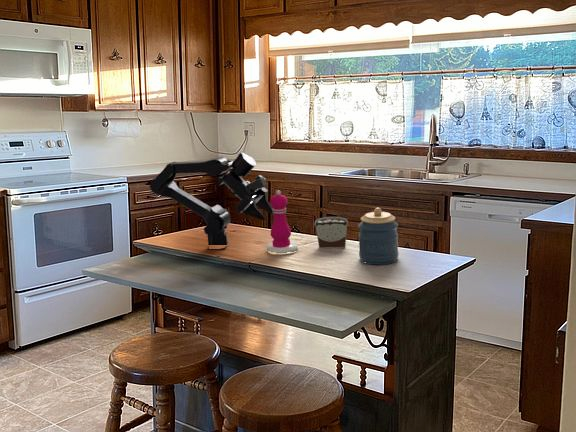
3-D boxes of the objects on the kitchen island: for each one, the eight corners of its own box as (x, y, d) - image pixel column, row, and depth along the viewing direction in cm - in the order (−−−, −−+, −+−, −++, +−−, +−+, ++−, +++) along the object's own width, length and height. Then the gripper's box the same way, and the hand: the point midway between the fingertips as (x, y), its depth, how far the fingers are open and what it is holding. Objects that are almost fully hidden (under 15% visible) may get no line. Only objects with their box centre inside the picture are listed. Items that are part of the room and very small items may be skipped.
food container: (349, 242, 235) (348, 215, 232) (349, 247, 229) (348, 220, 226) (315, 243, 236) (314, 216, 233) (314, 248, 230) (313, 221, 227)
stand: (266, 255, 224) (266, 250, 224) (267, 246, 235) (267, 241, 234) (298, 254, 224) (298, 248, 224) (297, 245, 235) (297, 239, 234)
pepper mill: (268, 244, 231) (264, 189, 226) (287, 241, 233) (284, 187, 229) (275, 249, 224) (272, 193, 219) (294, 246, 227) (291, 190, 222)
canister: (375, 251, 223) (374, 201, 218) (406, 258, 214) (405, 206, 209) (351, 260, 214) (349, 209, 210) (382, 268, 205) (381, 214, 201)
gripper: (242, 174, 217) (274, 207, 216) (260, 164, 234) (291, 195, 233) (222, 196, 221) (254, 229, 220) (242, 185, 238) (271, 215, 238)
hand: (268, 216), depth 228 cm, fingers open, 9 cm apart
